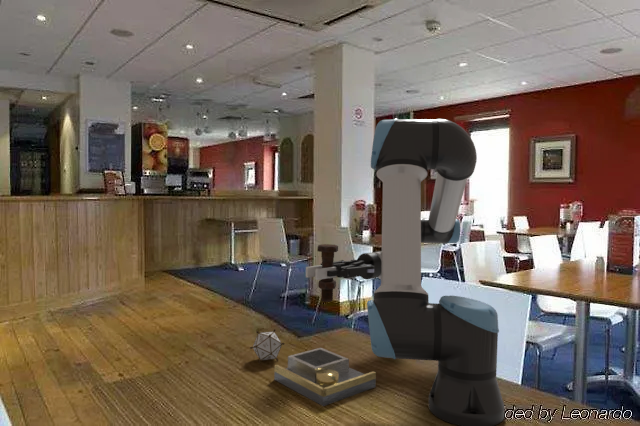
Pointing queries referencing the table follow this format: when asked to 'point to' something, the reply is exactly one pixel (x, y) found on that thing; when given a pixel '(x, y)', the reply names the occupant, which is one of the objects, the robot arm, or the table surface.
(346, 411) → the table surface
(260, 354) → the game die
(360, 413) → the table surface
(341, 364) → the carrier
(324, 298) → the bolt
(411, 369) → the table surface
